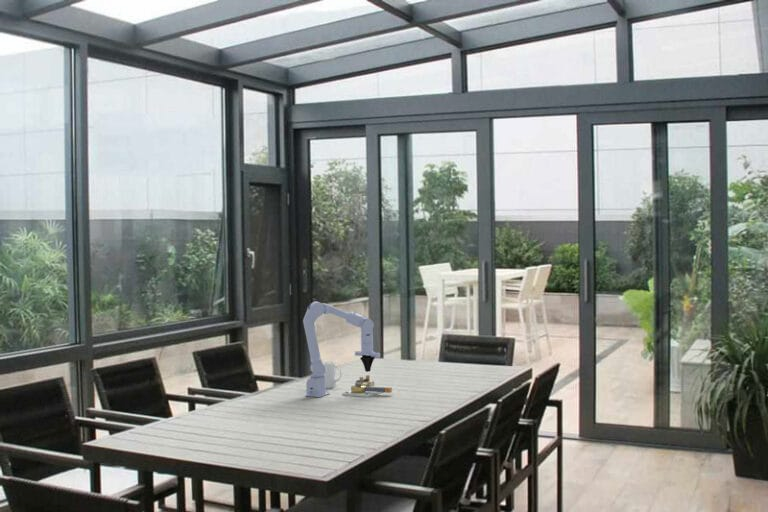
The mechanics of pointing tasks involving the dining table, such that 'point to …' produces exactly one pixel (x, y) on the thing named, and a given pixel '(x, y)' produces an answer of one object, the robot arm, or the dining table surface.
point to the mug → (331, 374)
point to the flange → (362, 394)
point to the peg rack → (365, 381)
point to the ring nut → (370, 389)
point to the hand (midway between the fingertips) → (367, 371)
